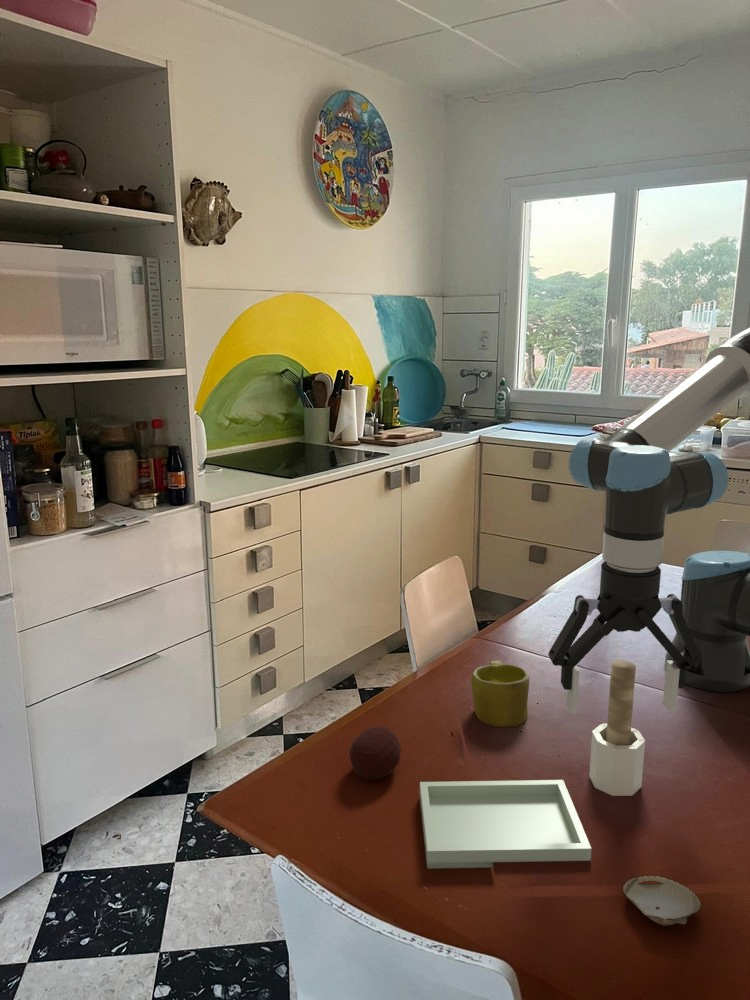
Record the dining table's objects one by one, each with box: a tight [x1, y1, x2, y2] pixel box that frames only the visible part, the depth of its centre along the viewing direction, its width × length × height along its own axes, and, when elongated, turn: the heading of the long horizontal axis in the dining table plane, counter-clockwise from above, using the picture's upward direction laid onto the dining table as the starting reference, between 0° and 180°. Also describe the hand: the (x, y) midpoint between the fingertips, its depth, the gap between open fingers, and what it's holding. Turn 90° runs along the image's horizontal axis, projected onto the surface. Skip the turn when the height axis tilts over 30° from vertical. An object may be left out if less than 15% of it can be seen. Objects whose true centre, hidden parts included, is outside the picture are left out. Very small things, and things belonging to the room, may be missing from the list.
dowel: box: [606, 659, 637, 746], centre depth 107 cm, size 3×3×18 cm
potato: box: [349, 725, 402, 781], centre depth 113 cm, size 7×10×6 cm
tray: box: [419, 779, 593, 870], centre depth 100 cm, size 20×14×2 cm
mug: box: [471, 660, 530, 728], centre depth 128 cm, size 12×10×10 cm
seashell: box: [622, 875, 702, 926], centre depth 87 cm, size 8×3×8 cm
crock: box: [588, 723, 646, 797], centre depth 109 cm, size 7×7×8 cm
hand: (620, 708), depth 107 cm, fingers open, 13 cm apart
